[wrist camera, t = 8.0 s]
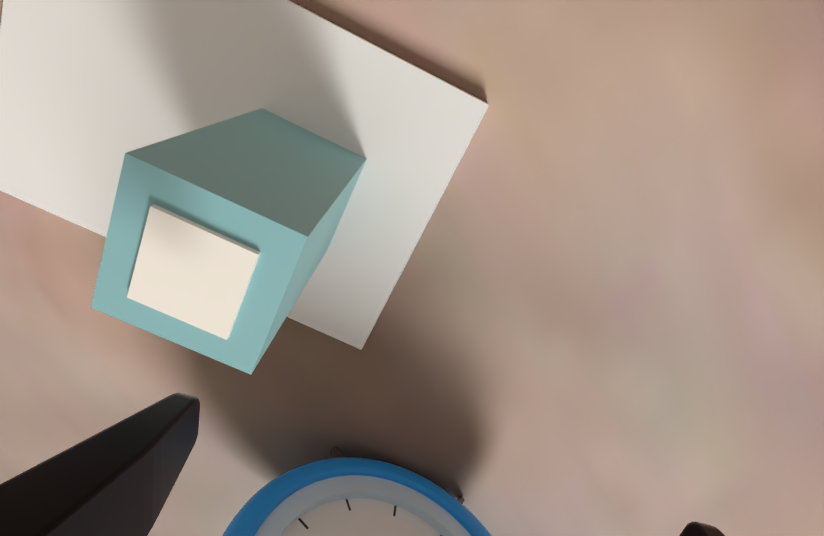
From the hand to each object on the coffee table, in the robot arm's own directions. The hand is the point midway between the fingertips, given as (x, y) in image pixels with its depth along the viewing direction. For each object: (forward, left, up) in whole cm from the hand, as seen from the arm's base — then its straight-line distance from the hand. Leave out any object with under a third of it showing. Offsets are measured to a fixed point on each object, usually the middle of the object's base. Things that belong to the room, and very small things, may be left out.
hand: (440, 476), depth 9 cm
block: (+6, 0, -11) cm, 13 cm away
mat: (+9, 0, -12) cm, 15 cm away
